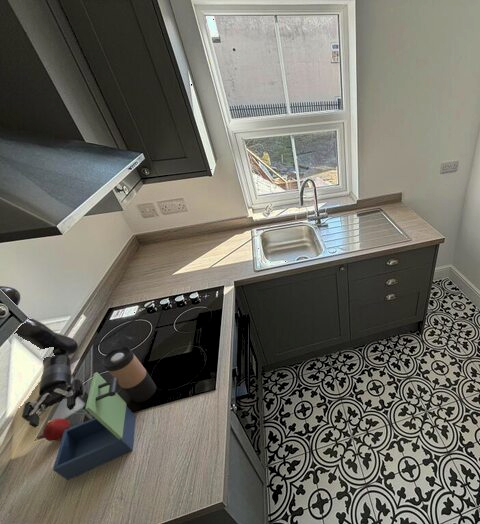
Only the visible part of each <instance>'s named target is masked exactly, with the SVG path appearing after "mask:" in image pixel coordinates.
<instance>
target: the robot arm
mask: <svg viewBox="0 0 480 524" xmlns="http://www.w3.org/2000/svg"><path fill="white" fill-rule="evenodd" d="M0 289H1V290H2V291H3V292H4V293H5V294H6V295H7V296H8V297H9V298H10V299H11V300H12V301H13V302H14V303H15V304H16V305H17V307H18V306H19V304H20V302H21V294H20V292H19V291H18V290H17V289H16V288H14V287H10V286H3V285H0ZM28 319H29V318H28ZM15 333H17V334H18V336H20V337H22V338H23V339H25V340H27V341H30V342H31V343H32V344H34V345H36V346H37V347H39V348H40V349H39V350H41V349H45V348H49V347H54V350H53V353H54V355H55V356H52V357H46V358H44V360H43V363H42V367H43V368H42V374H41V377H40V382H39V389H38V395H39V396H38V398H37V399H36V400H34V401H26V402H25V403H24V407H23V411H22V413H21V418H22V419H23V420H25V421H26V422H28V425H29V426H31V427H32V428H38V427H40V419H41V417H40V416H41V415H42V414H43V413H45V412H47V410H48V409H49V408H50V407H52V406H54V405H56V404H58V403H61V402H62V401H63V400H66V408H67V409H68V410H69V411H71V410H74V409H75V407H76V404H77V403H76V400H77V399H78V397H82V396H83V395H84V384H83V382H81V380H80V379H77V378H76V379H75V380H74V381H73V383H72V375H73V374H72V370H71V369H72V367H71V366H72V361H71V357H70V356H72V355H74V354H75V353H77V351H78V350H79V345H78V343H77V341H76V340H75V339H74V338H72V337H70V336H67V335H64V334H62V333H58V332H55V331H54V330H52V329H51V328H50V327H49V326H47V325H45V324H44V323H43V322H41V321H39V320H37V319H34V318H32V319H29V321H28V320H27V321H26V323H24V324H22V325H21V326H20V327H19V328H18V330H17V331H16V332H15ZM15 333H14V334H15ZM72 389H74V392H71V391H72ZM43 406H44V407H43Z"/></svg>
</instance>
